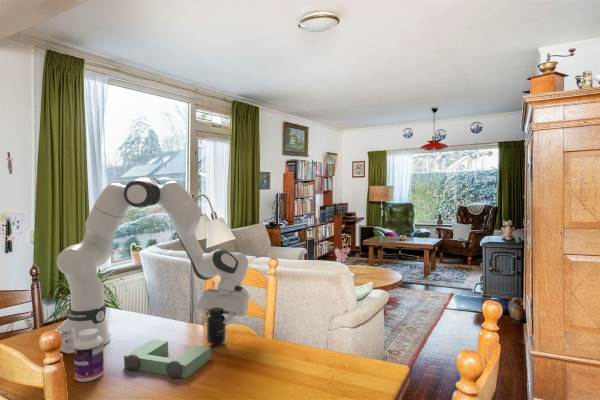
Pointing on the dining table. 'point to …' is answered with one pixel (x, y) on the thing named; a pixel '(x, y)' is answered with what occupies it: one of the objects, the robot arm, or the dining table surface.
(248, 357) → the dining table surface
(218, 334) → the supplement bottle
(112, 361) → the dining table surface
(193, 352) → the green u-shaped block
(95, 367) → the pill bottle
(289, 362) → the dining table surface
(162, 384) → the dining table surface
